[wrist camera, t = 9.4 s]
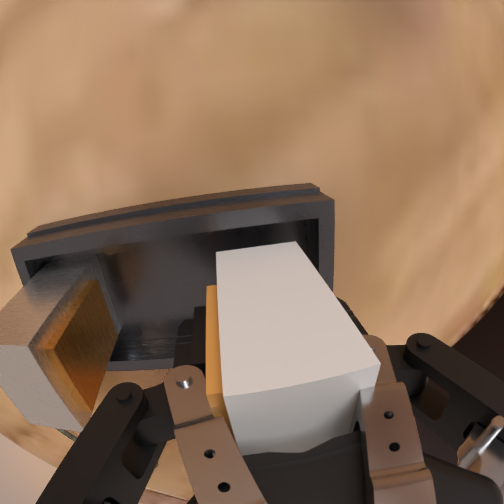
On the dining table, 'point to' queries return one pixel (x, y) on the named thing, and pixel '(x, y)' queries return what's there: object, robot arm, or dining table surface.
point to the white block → (281, 351)
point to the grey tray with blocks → (133, 288)
